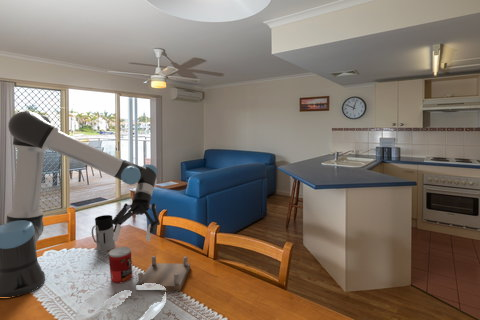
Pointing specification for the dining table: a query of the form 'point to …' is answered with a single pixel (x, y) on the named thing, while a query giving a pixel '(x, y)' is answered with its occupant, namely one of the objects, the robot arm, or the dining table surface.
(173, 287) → the peg board
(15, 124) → the robot arm
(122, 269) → the canned food
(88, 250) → the dining table surface
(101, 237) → the grey mug
